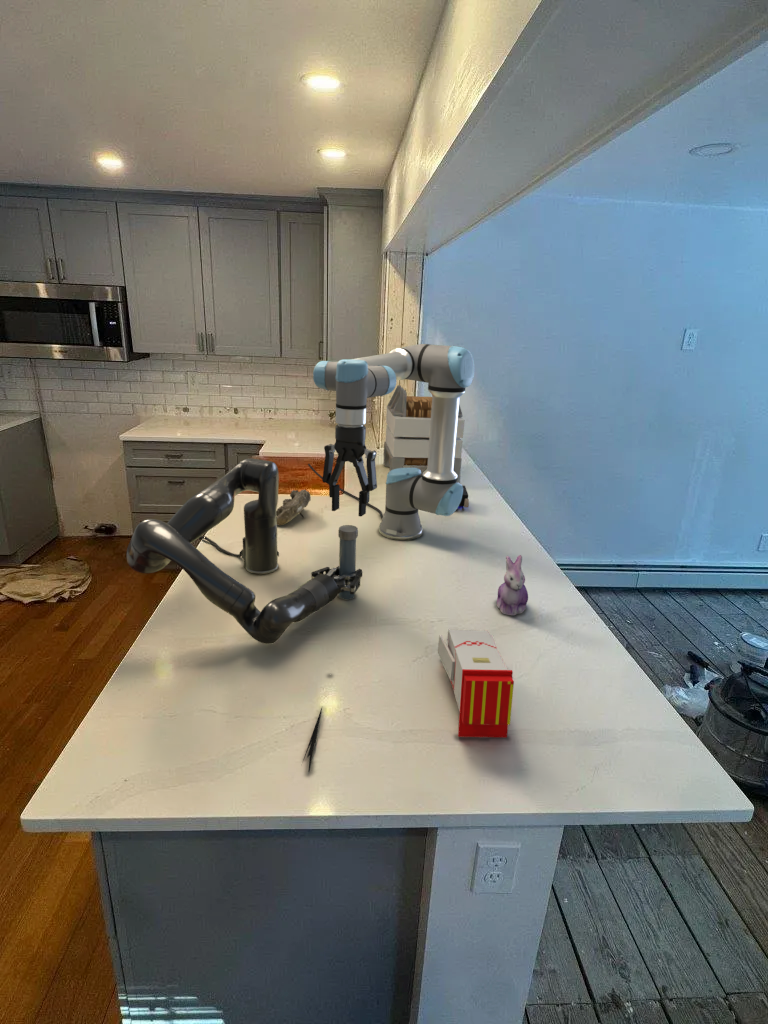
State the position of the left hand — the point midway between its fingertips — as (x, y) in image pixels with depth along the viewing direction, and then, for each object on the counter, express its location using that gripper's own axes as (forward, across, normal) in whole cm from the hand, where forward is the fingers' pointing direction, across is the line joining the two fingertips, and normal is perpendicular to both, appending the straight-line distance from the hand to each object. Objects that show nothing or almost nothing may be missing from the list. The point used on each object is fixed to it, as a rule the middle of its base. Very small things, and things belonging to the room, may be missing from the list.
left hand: (352, 569), depth 156 cm
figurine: (+17, +40, -7) cm, 44 cm away
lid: (-3, 0, +13) cm, 13 cm away
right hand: (-3, 0, +18) cm, 18 cm away
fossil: (+37, -50, -7) cm, 62 cm away
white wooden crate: (+121, -40, -7) cm, 127 cm away
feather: (-47, +23, -7) cm, 53 cm away
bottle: (-3, 0, -7) cm, 7 cm away
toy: (-23, +44, -7) cm, 50 cm away
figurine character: (+85, -4, -7) cm, 86 cm away
